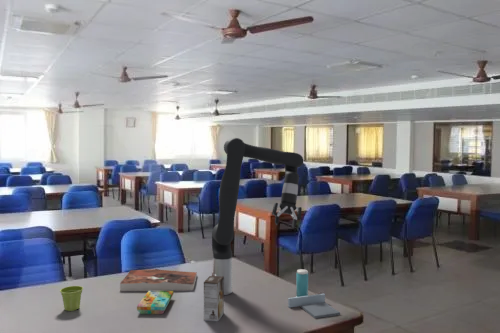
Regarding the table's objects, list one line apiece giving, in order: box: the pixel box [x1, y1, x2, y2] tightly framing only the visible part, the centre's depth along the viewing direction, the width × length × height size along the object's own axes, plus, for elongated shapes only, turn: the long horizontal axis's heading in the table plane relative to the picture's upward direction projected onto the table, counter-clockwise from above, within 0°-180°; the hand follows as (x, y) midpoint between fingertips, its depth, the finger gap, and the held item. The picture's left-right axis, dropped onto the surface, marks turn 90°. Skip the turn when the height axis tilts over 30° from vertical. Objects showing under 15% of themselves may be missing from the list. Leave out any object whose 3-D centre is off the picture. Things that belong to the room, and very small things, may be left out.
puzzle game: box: [136, 291, 174, 315], centre depth 195 cm, size 12×5×20 cm
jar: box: [295, 268, 309, 297], centre depth 206 cm, size 6×6×13 cm
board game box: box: [119, 268, 198, 292], centre depth 227 cm, size 36×23×5 cm, turn 93°
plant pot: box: [59, 285, 84, 312], centre depth 191 cm, size 9×9×9 cm
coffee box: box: [203, 275, 225, 322], centre depth 183 cm, size 9×6×16 cm
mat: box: [300, 301, 341, 319], centre depth 190 cm, size 12×13×1 cm
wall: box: [287, 293, 326, 309], centre depth 198 cm, size 18×1×4 cm, turn 110°
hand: (285, 226), depth 214 cm, fingers open, 8 cm apart
